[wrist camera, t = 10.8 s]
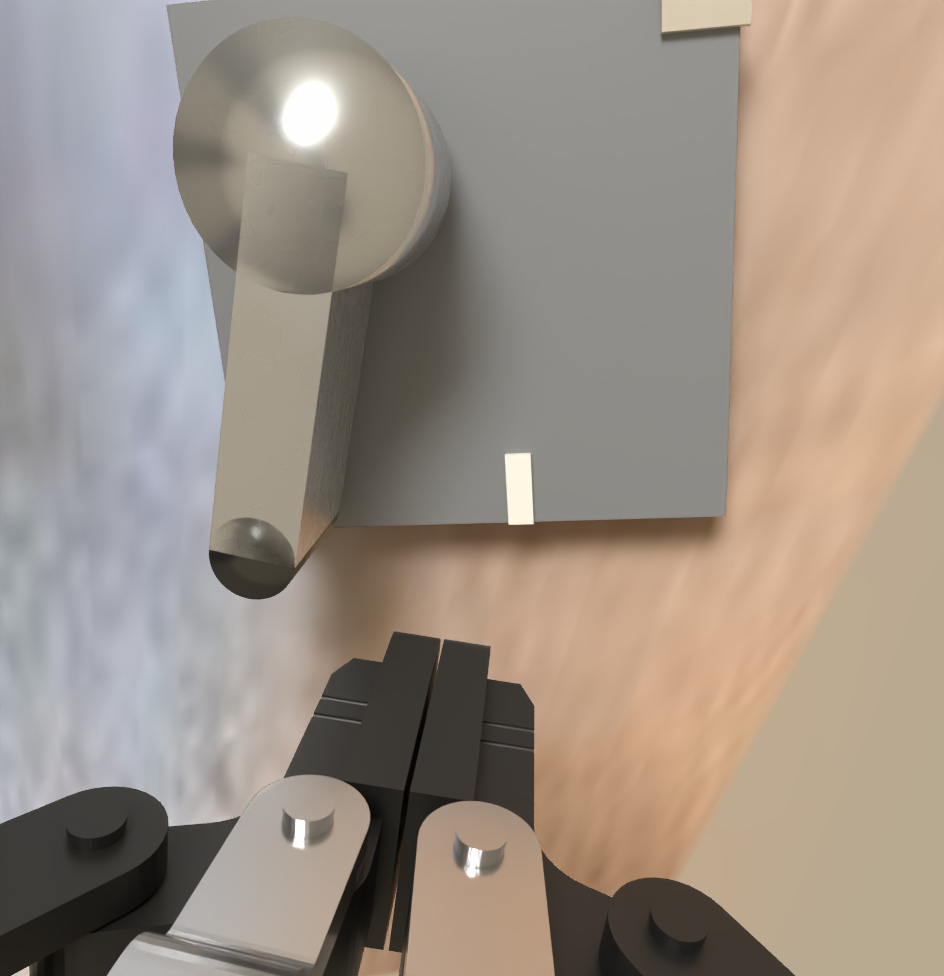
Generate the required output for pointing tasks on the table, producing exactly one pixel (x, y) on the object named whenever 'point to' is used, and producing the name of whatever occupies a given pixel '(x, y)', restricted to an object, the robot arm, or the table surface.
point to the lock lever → (299, 264)
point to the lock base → (543, 260)
